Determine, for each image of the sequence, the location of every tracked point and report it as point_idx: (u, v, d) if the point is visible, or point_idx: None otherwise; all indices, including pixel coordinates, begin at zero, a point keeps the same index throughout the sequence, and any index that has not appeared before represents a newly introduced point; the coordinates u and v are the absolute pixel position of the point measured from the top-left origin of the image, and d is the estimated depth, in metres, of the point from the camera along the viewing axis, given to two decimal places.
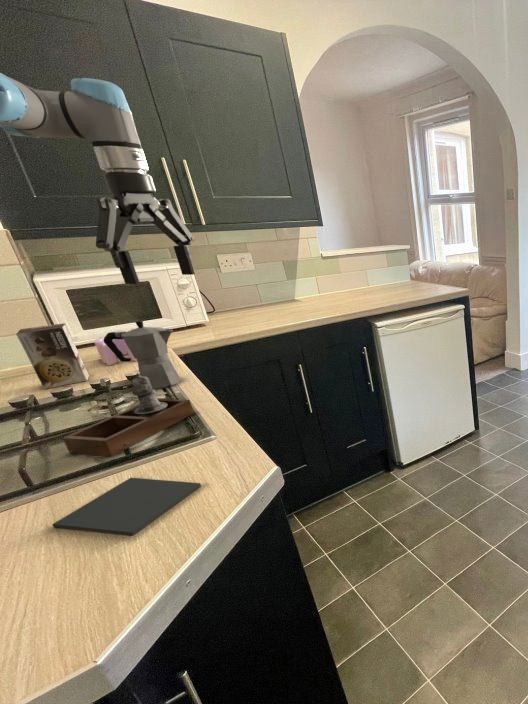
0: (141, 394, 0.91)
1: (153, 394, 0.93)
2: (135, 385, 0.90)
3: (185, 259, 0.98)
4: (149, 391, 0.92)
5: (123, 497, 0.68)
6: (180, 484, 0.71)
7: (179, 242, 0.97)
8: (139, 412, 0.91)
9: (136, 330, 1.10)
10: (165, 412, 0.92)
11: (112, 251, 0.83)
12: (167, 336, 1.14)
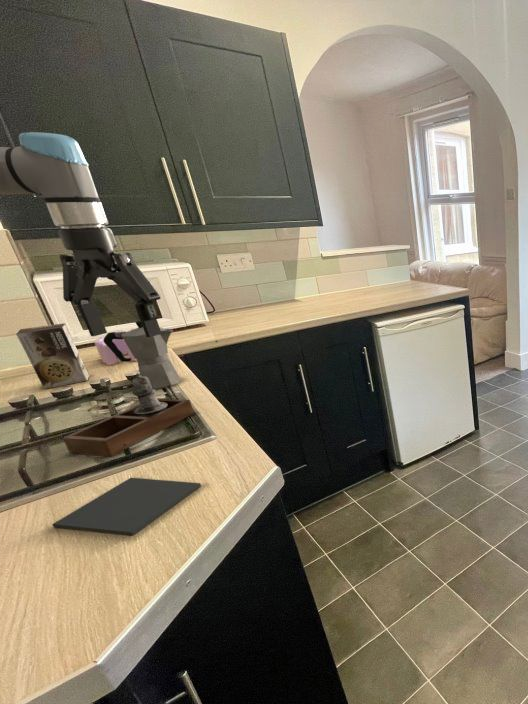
0: (141, 394, 0.91)
1: (153, 394, 0.93)
2: (135, 385, 0.90)
3: (98, 317, 0.88)
4: (149, 391, 0.92)
5: (123, 497, 0.68)
6: (180, 484, 0.71)
7: (82, 300, 0.86)
8: (139, 412, 0.91)
9: (136, 330, 1.10)
10: (165, 412, 0.92)
11: (149, 303, 0.84)
12: (167, 336, 1.14)
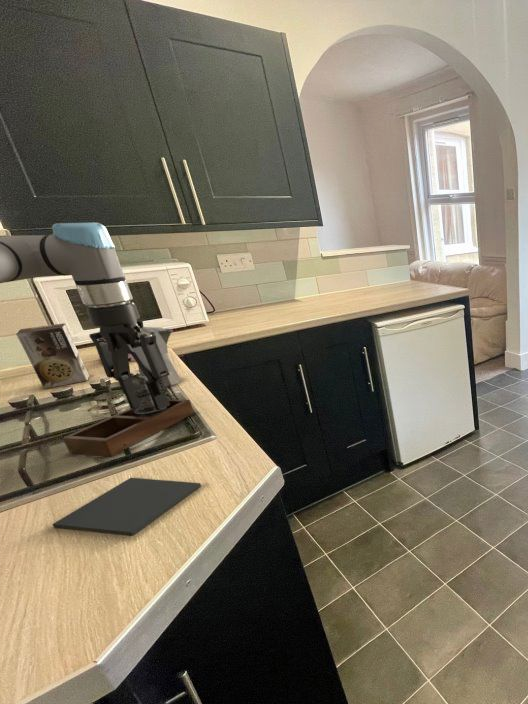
0: (141, 394, 0.91)
1: None
2: (135, 385, 0.90)
3: None
4: None
5: (123, 497, 0.68)
6: (180, 484, 0.71)
7: (123, 375, 0.91)
8: (139, 412, 0.91)
9: None
10: (165, 412, 0.92)
11: (159, 380, 0.90)
12: (167, 336, 1.14)
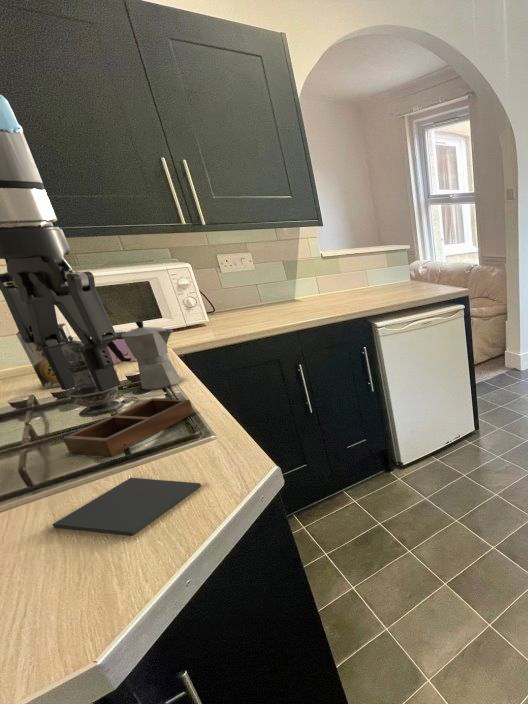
0: (76, 367, 0.61)
1: None
2: (65, 354, 0.61)
3: None
4: None
5: (123, 497, 0.68)
6: (180, 484, 0.71)
7: (49, 340, 0.61)
8: (73, 394, 0.62)
9: (136, 330, 1.10)
10: (165, 412, 0.92)
11: (102, 346, 0.61)
12: (167, 336, 1.14)
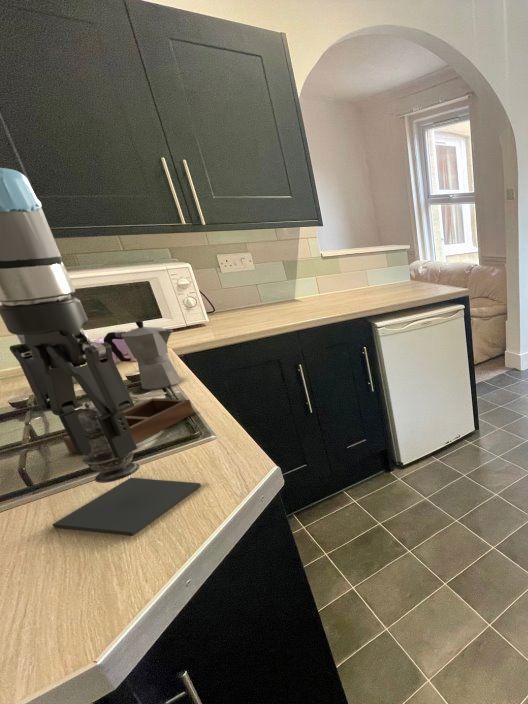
0: (92, 435, 0.61)
1: None
2: (82, 422, 0.60)
3: None
4: None
5: (123, 497, 0.68)
6: (180, 484, 0.71)
7: (65, 407, 0.61)
8: (89, 461, 0.61)
9: (136, 330, 1.10)
10: (165, 412, 0.92)
11: (119, 414, 0.60)
12: (167, 336, 1.14)
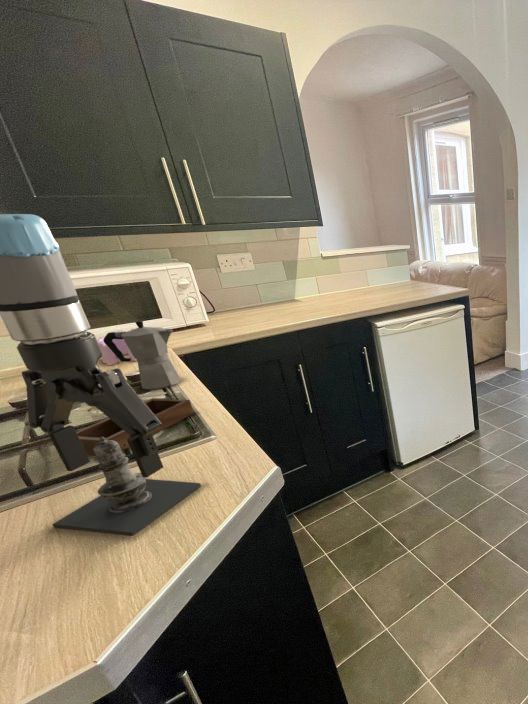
0: (107, 467, 0.63)
1: (125, 465, 0.65)
2: (98, 455, 0.62)
3: (77, 444, 0.65)
4: (119, 462, 0.64)
5: None
6: (180, 484, 0.71)
7: (56, 425, 0.63)
8: (104, 492, 0.63)
9: (136, 330, 1.10)
10: (165, 412, 0.92)
11: (147, 434, 0.61)
12: (167, 336, 1.14)
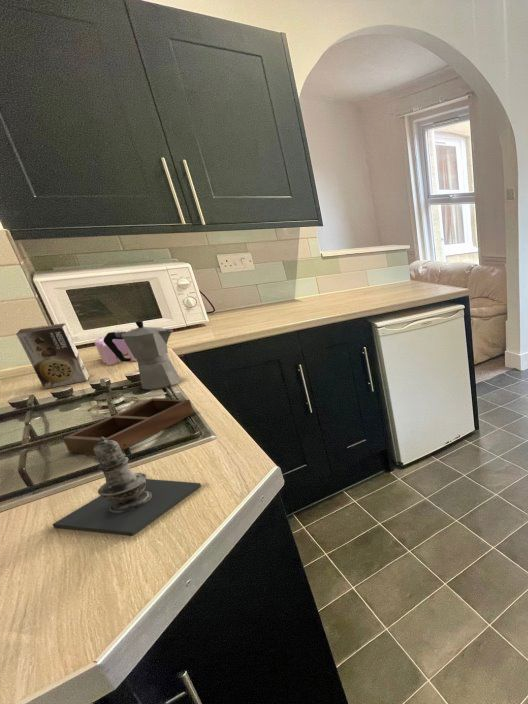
0: (107, 467, 0.63)
1: (125, 465, 0.65)
2: (98, 455, 0.62)
3: None
4: (119, 462, 0.64)
5: None
6: (180, 484, 0.71)
7: None
8: (104, 492, 0.63)
9: (136, 330, 1.10)
10: (165, 412, 0.92)
11: None
12: (167, 336, 1.14)
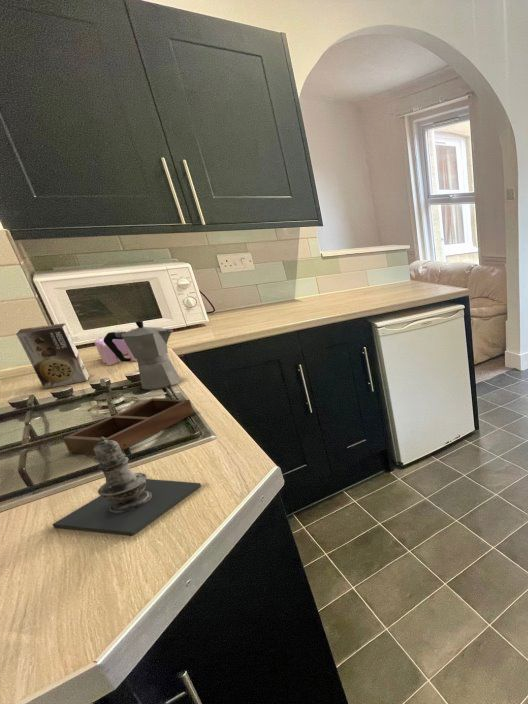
0: (107, 467, 0.63)
1: (125, 465, 0.65)
2: (98, 455, 0.62)
3: None
4: (119, 462, 0.64)
5: None
6: (180, 484, 0.71)
7: None
8: (104, 492, 0.63)
9: (136, 330, 1.10)
10: (165, 412, 0.92)
11: None
12: (167, 336, 1.14)
